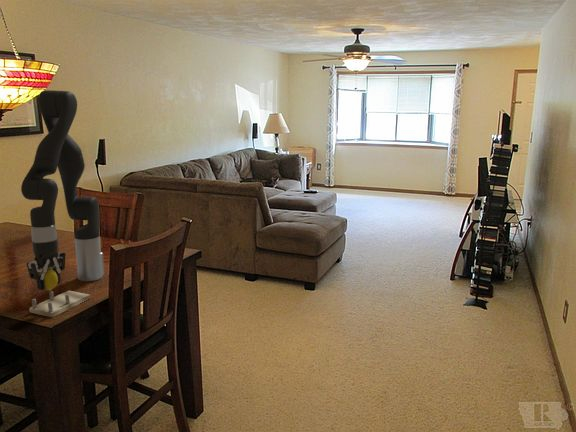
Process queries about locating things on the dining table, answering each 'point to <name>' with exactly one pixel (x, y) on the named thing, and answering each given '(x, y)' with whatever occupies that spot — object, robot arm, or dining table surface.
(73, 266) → the dining table surface
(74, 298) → the peg board
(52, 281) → the lemon
